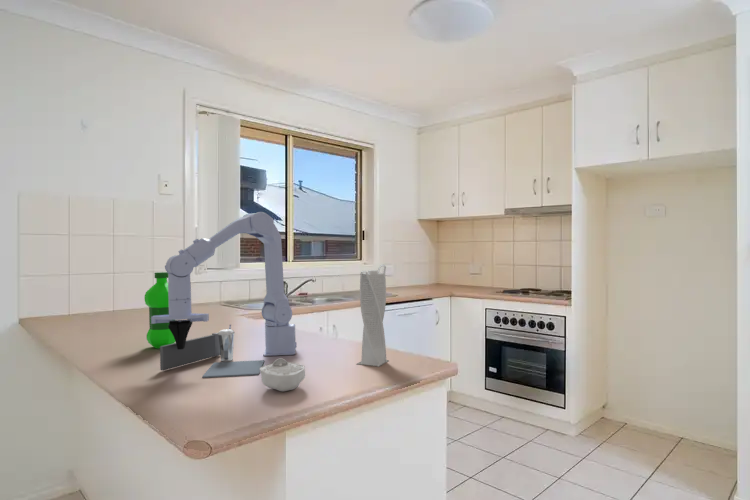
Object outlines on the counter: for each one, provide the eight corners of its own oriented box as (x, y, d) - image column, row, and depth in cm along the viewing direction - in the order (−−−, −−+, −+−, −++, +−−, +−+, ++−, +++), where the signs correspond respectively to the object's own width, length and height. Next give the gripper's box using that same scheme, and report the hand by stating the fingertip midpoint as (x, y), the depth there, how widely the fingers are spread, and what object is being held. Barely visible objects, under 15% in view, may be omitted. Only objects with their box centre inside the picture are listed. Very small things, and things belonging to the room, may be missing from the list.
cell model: (265, 400, 99) (265, 369, 99) (256, 385, 110) (256, 357, 110) (311, 393, 103) (310, 363, 103) (298, 379, 114) (297, 352, 114)
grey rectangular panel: (222, 354, 140) (221, 333, 140) (164, 370, 123) (164, 346, 122) (216, 353, 141) (216, 332, 141) (159, 369, 124) (158, 345, 124)
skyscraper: (393, 362, 131) (392, 264, 130) (382, 369, 123) (380, 265, 123) (367, 359, 134) (365, 263, 134) (354, 366, 127) (352, 265, 127)
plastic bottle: (157, 343, 160) (156, 271, 160) (185, 343, 159) (184, 271, 158) (139, 349, 150) (137, 273, 150) (168, 350, 149) (167, 273, 148)
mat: (264, 361, 132) (264, 360, 132) (258, 375, 119) (258, 373, 119) (213, 363, 131) (213, 362, 131) (202, 377, 117) (202, 376, 117)
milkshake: (238, 357, 137) (237, 324, 137) (231, 362, 132) (230, 327, 132) (223, 357, 138) (223, 324, 138) (216, 362, 133) (215, 327, 132)
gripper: (210, 296, 130) (211, 344, 130) (156, 298, 128) (158, 346, 129) (204, 299, 123) (206, 349, 124) (147, 301, 121) (149, 352, 122)
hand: (181, 348), depth 126 cm, fingers closed
